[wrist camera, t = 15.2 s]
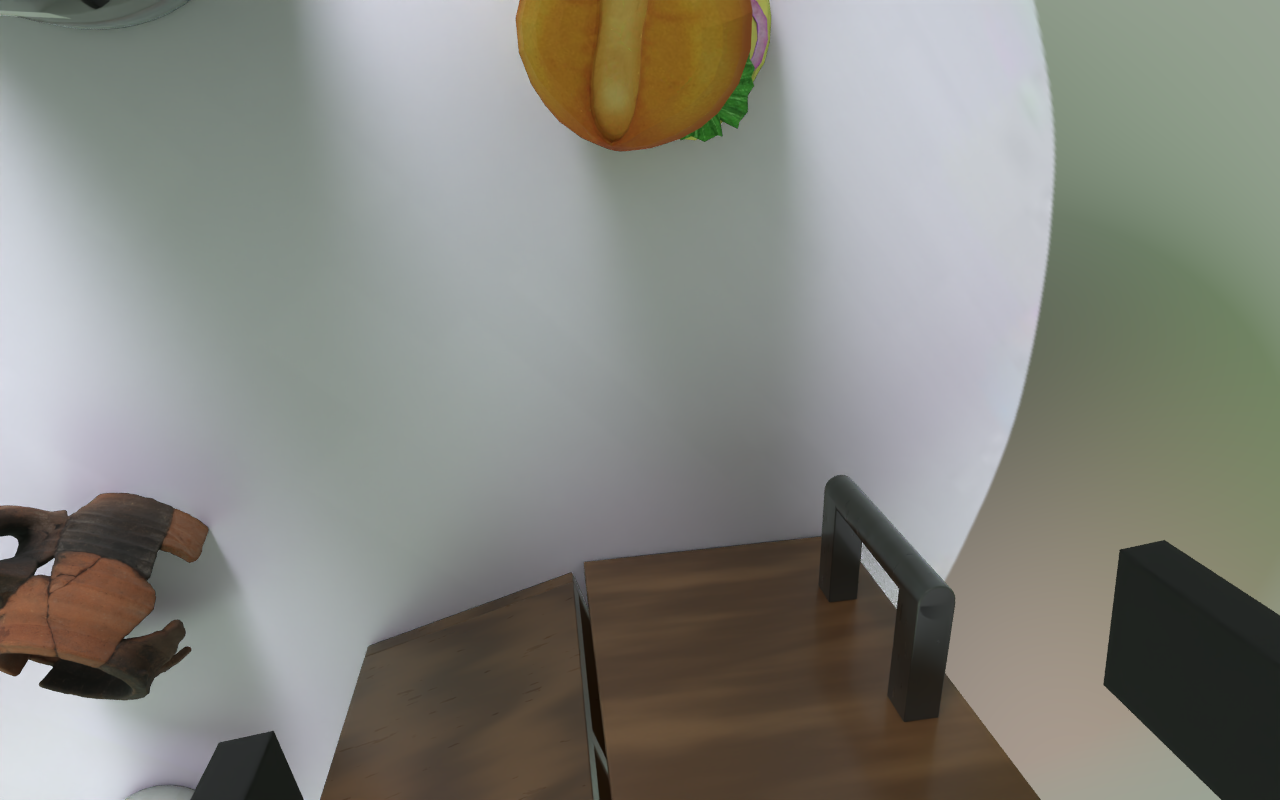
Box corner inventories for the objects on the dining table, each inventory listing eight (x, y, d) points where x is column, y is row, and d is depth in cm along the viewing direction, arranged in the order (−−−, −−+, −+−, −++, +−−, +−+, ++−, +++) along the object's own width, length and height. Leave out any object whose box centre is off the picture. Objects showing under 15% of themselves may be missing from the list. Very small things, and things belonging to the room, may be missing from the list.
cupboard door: (576, 458, 41) (612, 727, 23) (847, 433, 43) (1084, 663, 24) (584, 575, 44) (623, 899, 25) (839, 547, 45) (1045, 830, 27)
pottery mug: (269, 544, 41) (199, 693, 35) (185, 581, 45) (112, 719, 40) (40, 428, 34) (-90, 592, 28) (-32, 486, 38) (-156, 637, 33)
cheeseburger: (800, 83, 35) (832, 103, 27) (605, 174, 38) (575, 219, 29) (724, -148, 31) (732, -216, 23) (512, -29, 34) (445, -47, 25)
